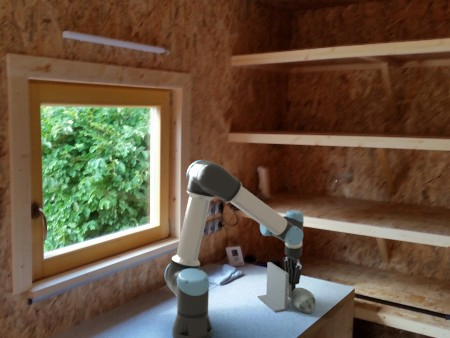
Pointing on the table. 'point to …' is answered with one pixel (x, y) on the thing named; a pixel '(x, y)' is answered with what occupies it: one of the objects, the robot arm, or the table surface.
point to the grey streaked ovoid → (303, 300)
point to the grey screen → (276, 288)
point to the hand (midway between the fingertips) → (291, 297)
